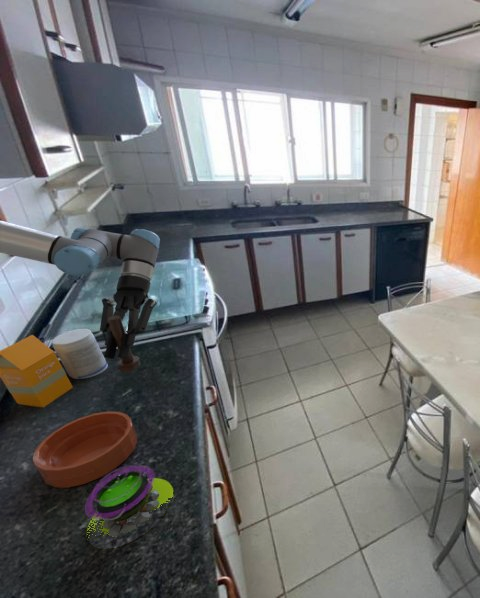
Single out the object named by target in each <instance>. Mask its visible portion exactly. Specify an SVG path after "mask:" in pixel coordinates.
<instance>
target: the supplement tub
mask: <svg viewBox="0 0 480 598" xmlns="http://www.w3.org/2000/svg"><path fill="white" fill-rule="evenodd" d="M51 345H52V348H53V349H54V352H55V354H57V355H56V356H57V357H58V359H59V361H60V363H61V365H63V368H64V370H65V372H66V373H67V375H68V376H69V377H70V378H71V379H75V380H79V379H80V380H83V379H88V378H92V377H95V376H98V375H100V374H102V373H104V372H105V371H106V370H107V368H108V366H109V365H108V362H107V360H106V358H105V357H104V356H105V355H104V353H103V351H102V349H101V348H100V346H99V343H98V341H97V339H96V337H95V335H94V333H93V332H92V330H90V329H88V328H76V329H73V330H68V331H66V332H63V333H61V334H59V335H57V336H55V337H54V338H53V339H52V340H51Z"/></svg>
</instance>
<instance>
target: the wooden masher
mask: <svg viewBox="0 0 480 598" xmlns="http://www.w3.org/2000/svg"><path fill="white" fill-rule="evenodd" d="M108 321H109V324H110V327H111V330H112V333H113V336H114V339H115V342H116V345H117V351H118V352H119V350H120V346H121V342H122V338H123V334H127V332H126V330H125V328H124V324H123V320H122V321H121V318H120V316H112V317H109V318H108ZM116 364H117V367H118V370H119V371H120V372H128V371H129V372H130V371H134V370H135V369H137V368H139V367H140V366H141V364H142V363H141V360H140V356H138V355H133V353H132V349H131V348H130V349H129V353H128V357H127V359H123V358H120V359H119V360H117V362H116Z"/></svg>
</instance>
